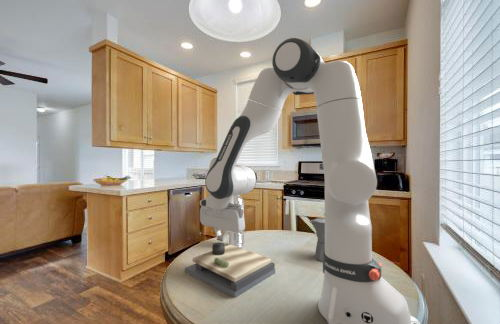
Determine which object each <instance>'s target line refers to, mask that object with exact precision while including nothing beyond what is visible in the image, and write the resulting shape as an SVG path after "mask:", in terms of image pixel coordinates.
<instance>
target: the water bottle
mask: <svg viewBox="0 0 500 324" xmlns="http://www.w3.org/2000/svg"><path fill="white" fill-rule="evenodd" d="M233 200H234V204H239V205H240V206H241V207H242V208H243V213H244V214H245V209H244V208H245V200H244V199H243V197H242V196H241V195H235V196H233ZM239 208H240V207H239ZM244 240H245V230H244V231H242V232H239V233H236V232H231V231H229V233H228V245H233V246H236V247H239V248H242V249H243V248H244V246H245V243H244V242H245V241H244Z"/></svg>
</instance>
